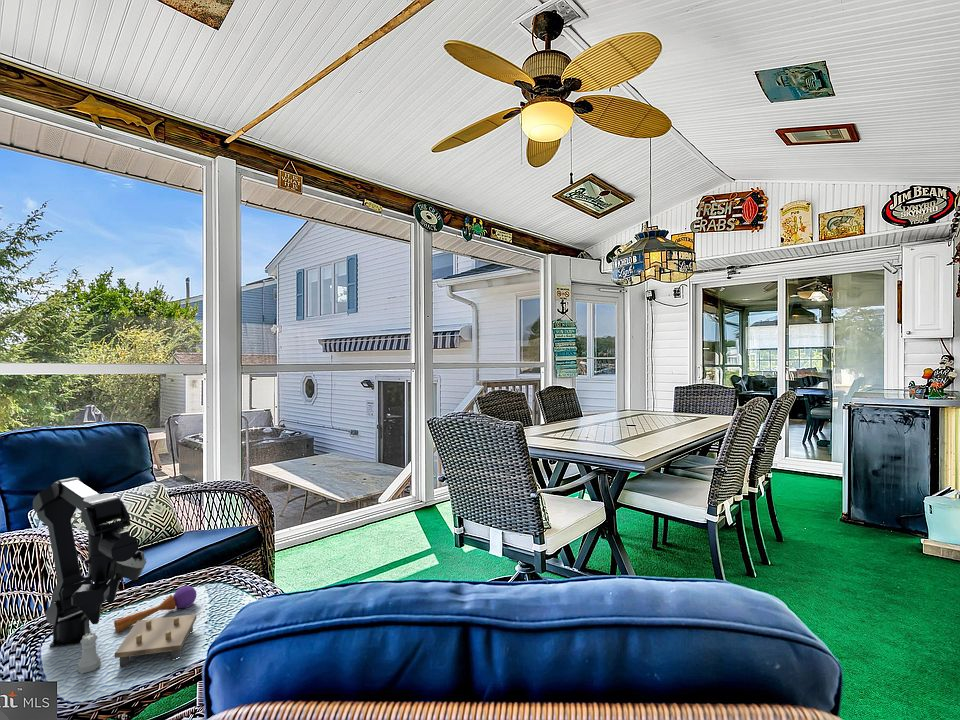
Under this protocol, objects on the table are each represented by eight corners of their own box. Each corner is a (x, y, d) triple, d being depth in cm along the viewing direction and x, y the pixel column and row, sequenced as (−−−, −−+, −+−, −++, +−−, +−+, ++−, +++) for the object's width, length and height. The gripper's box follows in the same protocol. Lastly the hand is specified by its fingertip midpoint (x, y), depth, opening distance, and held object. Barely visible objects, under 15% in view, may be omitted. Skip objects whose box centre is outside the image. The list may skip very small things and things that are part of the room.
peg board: (114, 669, 120) (114, 647, 120) (137, 635, 133) (137, 615, 133) (180, 660, 124) (180, 639, 123) (196, 628, 137) (196, 608, 137)
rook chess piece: (86, 662, 122) (85, 630, 122) (105, 661, 123) (105, 629, 122) (72, 674, 118) (72, 641, 117) (93, 673, 118) (92, 641, 118)
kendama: (111, 613, 136) (189, 581, 152) (114, 635, 136) (193, 600, 152) (117, 617, 133) (197, 583, 148) (121, 640, 133) (201, 603, 148)
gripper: (128, 564, 115) (128, 630, 116) (153, 532, 132) (153, 589, 133) (69, 569, 111) (70, 637, 112) (103, 536, 129) (104, 595, 130)
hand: (103, 613), depth 122 cm, fingers open, 9 cm apart
